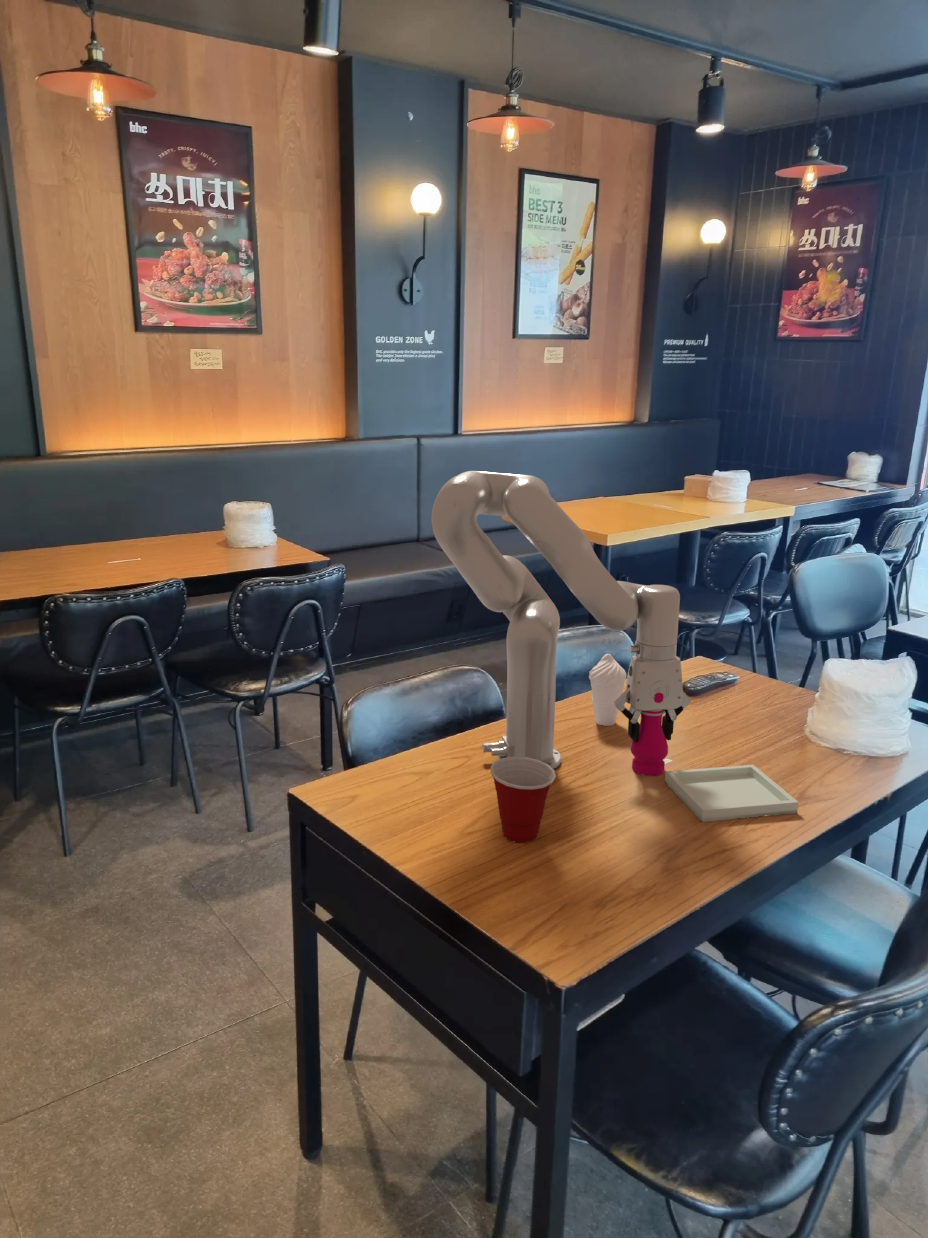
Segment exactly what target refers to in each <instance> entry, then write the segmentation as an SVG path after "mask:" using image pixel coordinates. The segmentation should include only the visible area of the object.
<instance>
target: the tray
mask: <svg viewBox="0 0 928 1238" xmlns="http://www.w3.org/2000/svg"><path fill="white" fill-rule="evenodd" d="M664 778H665V780H664V783H665V784H666V785H667V786H668V787H669V788H670V789H671V790H672V791H673V792H674V793H675V795H676V796H677V797H678V798H679V799H680V800H681V801H682V803H684V805H686V806H687V807H688V809H690V811H691V812H692V813H693V814H694V815H695V816H696V817H697V818H698V819H699V821H701V822H702V823H705V822H706V823H707V822H716V821H726V820H727V821H728V820H738V819H737V818H741V819H750V818H749V817H752V818H759V816H763V817H766V816H765V815H774V816H780V815H779V814H785V815H794V814H793V813H797V814H798V810H799V809H798V808H799V801H798V800H797V799H795V798H794V797H793V796H792V795H791V794H790V793H788V792H787V791H786V790H785V789H783V788H782V787H781V786H780V785H779V784H777V783H776V782H775V781H774V780H773V779H771V778H770V777H769V776H768V775H767V774H765V773H764V772H763V771H762V770H761V769H759V768H758V767H757V766H756V765H754V764H744V765H733V766H732V765H731V766H719V767H718V766H717V767H716V766H715V767H708V768H707V767H706V768H705V767H704V768H693V769H692V768H691V769H678V770H668V771H665V777H664ZM744 817H746V818H744Z"/></svg>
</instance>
